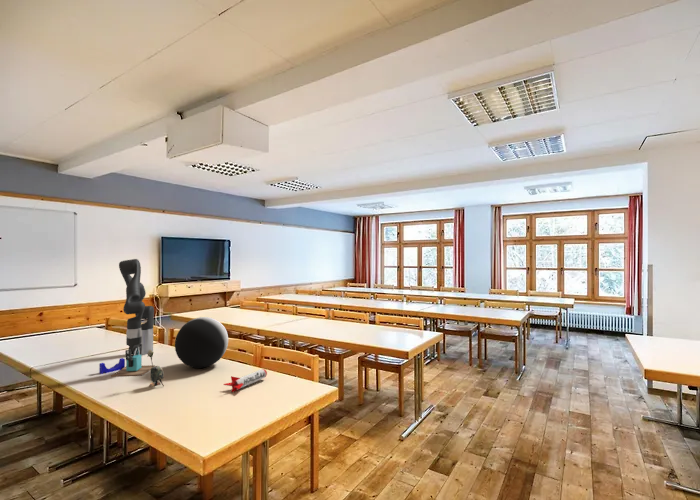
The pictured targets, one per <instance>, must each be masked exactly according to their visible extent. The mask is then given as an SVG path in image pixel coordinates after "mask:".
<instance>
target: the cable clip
mask: <svg viewBox="0 0 700 500" xmlns="http://www.w3.org/2000/svg"><path fill="white" fill-rule="evenodd" d="M98 365H99V367H98V371H99V372H98V373H99V374H100V375H104V374H108V373H112V372H113V373H114V372H118V371H119V370H121V369H123V368H124V367H126V358H123V357H120V358H119V361H118V363H116V364H115V365H113V366H111V367H110V368H108V367H106V364H105V363H104V362H101V363H99V364H98Z"/></svg>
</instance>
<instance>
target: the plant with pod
mask: <svg viewBox="0 0 700 500" xmlns="http://www.w3.org/2000/svg"><path fill="white" fill-rule="evenodd" d="M146 355H147V357H149V358H150V361H151V365H152V368H151V370H150V380H151V382H150V383H149V385H148V386H149V387H156V386H160V385H162V387H165V384H164V383H163V381H162V379H164V377H165V372H164V370H163V368H162V367H161V366H160V365H155V366H154V367H153V365H154V364H153V355H154V350H153V351H152V350H149V351H148V353H147V354H146Z"/></svg>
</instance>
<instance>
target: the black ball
mask: <svg viewBox="0 0 700 500" xmlns="http://www.w3.org/2000/svg"><path fill="white" fill-rule="evenodd" d="M228 345H229V335H228V331H227V329H226V327H225V326H224V325H223V324H222V322H220V321H219V320H217V319H215V318H212V317H209V316H200V317H196V318H192V319H190V320H189V321H187V322H186V323H184V324H183V326H181V328H180V329H179V330H178V332H177V334H176V336H175V339H174V351H175V354H176V356H177V358H179V360H180V361H181V362H182V363H183V364H184V365H186V366H188V367H191V368H196V369H201V368H202V369H203V368H207V367H210V366H212V365H214V364H216V363H217V362H219V360H221V358H223V356H224V355H225V353H226V351H227V349H228V347H229V346H228Z"/></svg>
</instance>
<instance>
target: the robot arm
mask: <svg viewBox="0 0 700 500" xmlns="http://www.w3.org/2000/svg"><path fill="white" fill-rule="evenodd" d="M118 268H119V271H120V274H121V275H122V277H123V281H124V283H125V286H126V289H125V292H126V293H125V294H126V297H125V302H124V305H123V308H122V310H123V313H124V314H126V315H135V316H133V317H130V318H128V319H127V321H126V333H125V335H126V336H125V337H126V339H125V340H126V341H125V344H126V346H128V349H125V351H124V353H125V361H126V360H128V367H133V358H134V356H135V355H142V356H146V355H148V354H147V353H148V351H149V350H152V351H153V352H154V321H155V320H154V319H155V318H154V317H155V307H154V306H153V305H146V304H145V302H144V301H143V300H144V299H145V297H146V293H147V292H146V289H145V286H144V284H143V283H142V282H141V275H142V274H141V273H142V272H141V271H142V267H141V262H140V260H139V259H138V258H133V259H126V260H121V261H120V262H119V263H118ZM131 275H133V276H131ZM142 320H146V321H145V322H144V323H142ZM131 356H132V358H131Z"/></svg>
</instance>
